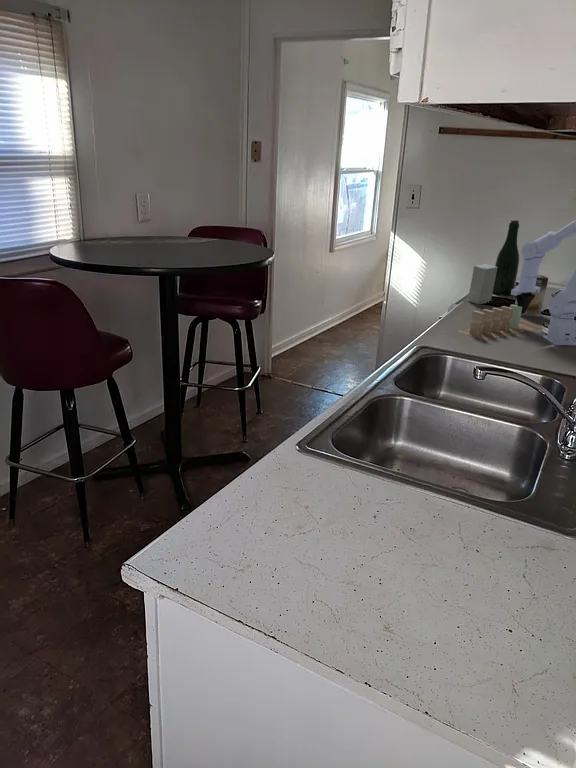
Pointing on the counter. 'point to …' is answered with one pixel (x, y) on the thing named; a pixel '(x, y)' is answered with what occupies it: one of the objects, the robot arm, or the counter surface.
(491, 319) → the birch domino
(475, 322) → the birch domino
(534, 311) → the coffee box
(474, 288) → the skincare box
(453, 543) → the counter surface
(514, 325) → the green domino
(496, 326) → the birch domino
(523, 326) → the thin wooden board
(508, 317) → the birch domino
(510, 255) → the beer bottle
